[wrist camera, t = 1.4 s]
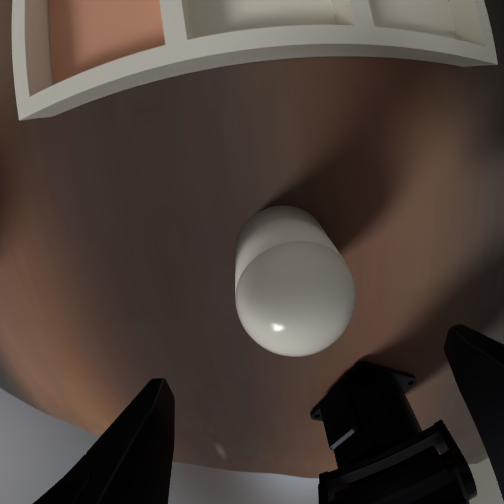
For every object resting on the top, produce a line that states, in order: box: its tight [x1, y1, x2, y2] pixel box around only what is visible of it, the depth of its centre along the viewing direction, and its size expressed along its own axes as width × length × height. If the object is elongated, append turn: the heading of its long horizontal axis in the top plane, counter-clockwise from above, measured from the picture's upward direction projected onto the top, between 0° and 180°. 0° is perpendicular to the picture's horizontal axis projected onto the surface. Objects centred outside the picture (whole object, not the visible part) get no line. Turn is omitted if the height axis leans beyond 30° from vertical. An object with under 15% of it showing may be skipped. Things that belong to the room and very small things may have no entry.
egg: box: [235, 205, 356, 357], centre depth 13 cm, size 5×5×7 cm
